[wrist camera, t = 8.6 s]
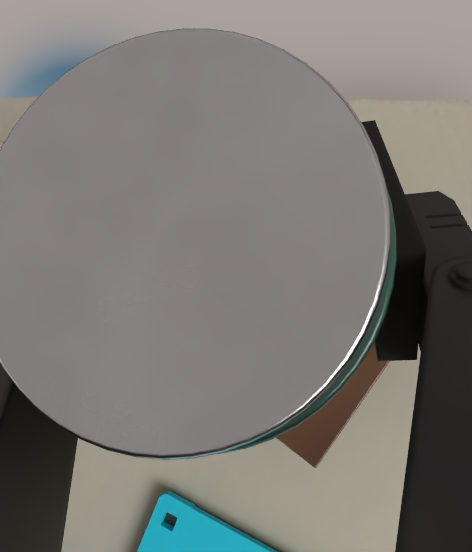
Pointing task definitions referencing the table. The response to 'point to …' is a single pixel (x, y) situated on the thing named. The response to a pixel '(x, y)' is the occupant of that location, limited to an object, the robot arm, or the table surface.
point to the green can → (190, 245)
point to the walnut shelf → (333, 413)
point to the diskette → (193, 530)
